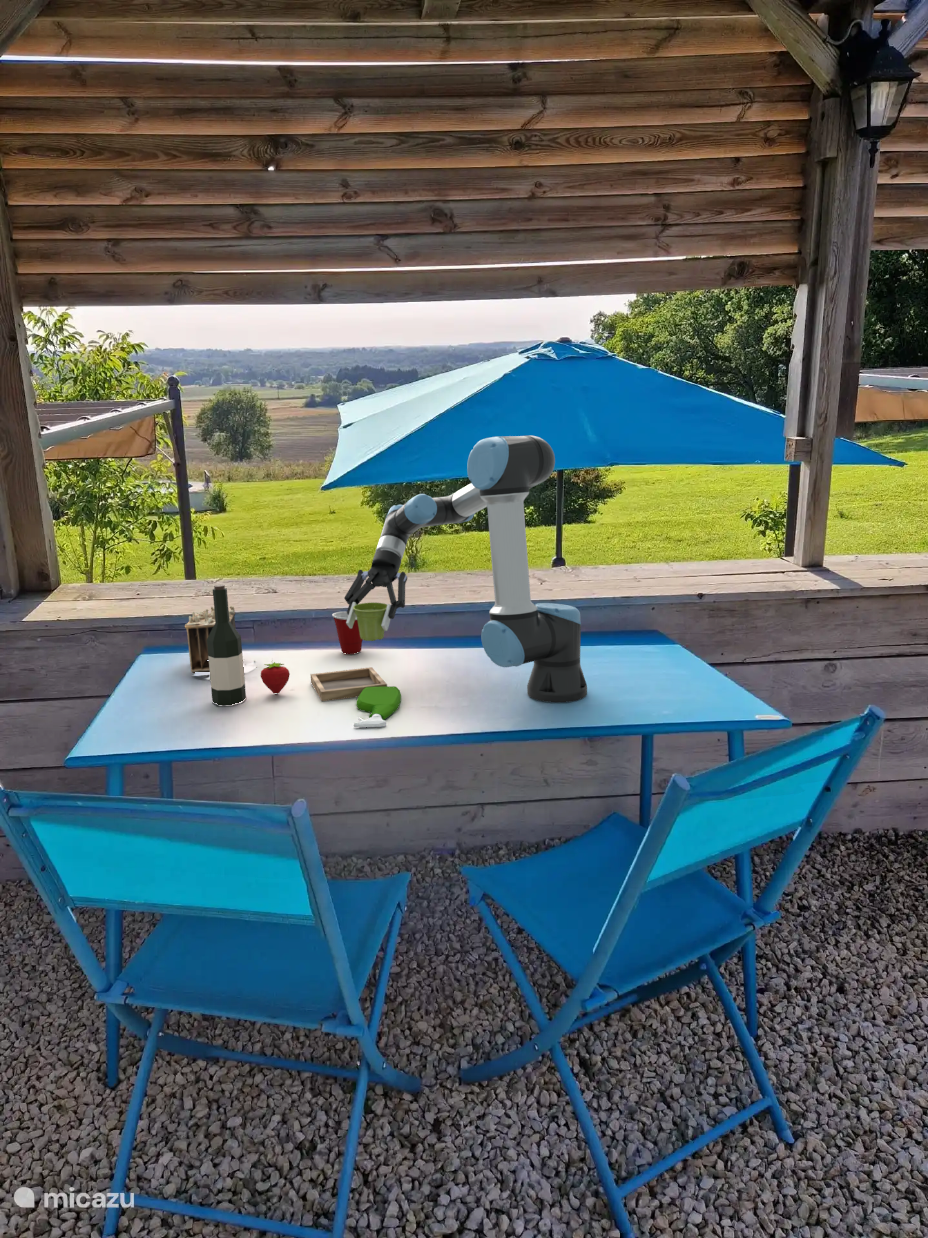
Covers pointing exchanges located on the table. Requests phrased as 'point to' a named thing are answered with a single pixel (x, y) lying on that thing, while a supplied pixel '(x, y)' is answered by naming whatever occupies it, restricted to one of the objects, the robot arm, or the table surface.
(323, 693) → the square wooden tray
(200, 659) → the wooden crate with straw
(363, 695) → the spray bottle
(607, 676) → the table surface
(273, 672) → the strawberry
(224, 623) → the wine bottle
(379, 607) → the plant pot
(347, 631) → the plastic cup
